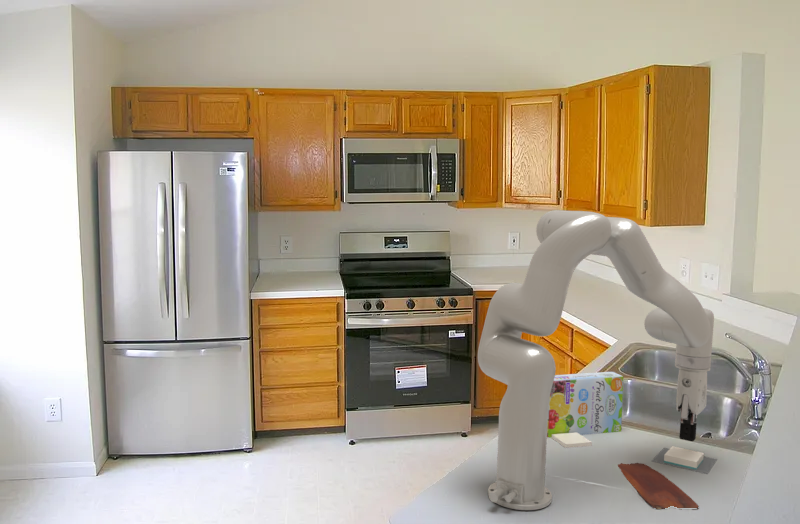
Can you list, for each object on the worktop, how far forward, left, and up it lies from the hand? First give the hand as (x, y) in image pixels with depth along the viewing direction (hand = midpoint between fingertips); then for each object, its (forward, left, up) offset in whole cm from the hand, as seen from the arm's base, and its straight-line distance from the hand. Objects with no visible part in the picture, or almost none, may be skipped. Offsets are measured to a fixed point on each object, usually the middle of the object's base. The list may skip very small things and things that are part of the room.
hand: (687, 439), depth 165 cm
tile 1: (-6, +25, -6) cm, 27 cm away
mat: (-1, 0, -5) cm, 5 cm away
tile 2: (+1, 0, -4) cm, 4 cm away
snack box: (+3, +27, -5) cm, 27 cm away
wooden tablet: (-18, +3, -6) cm, 19 cm away
